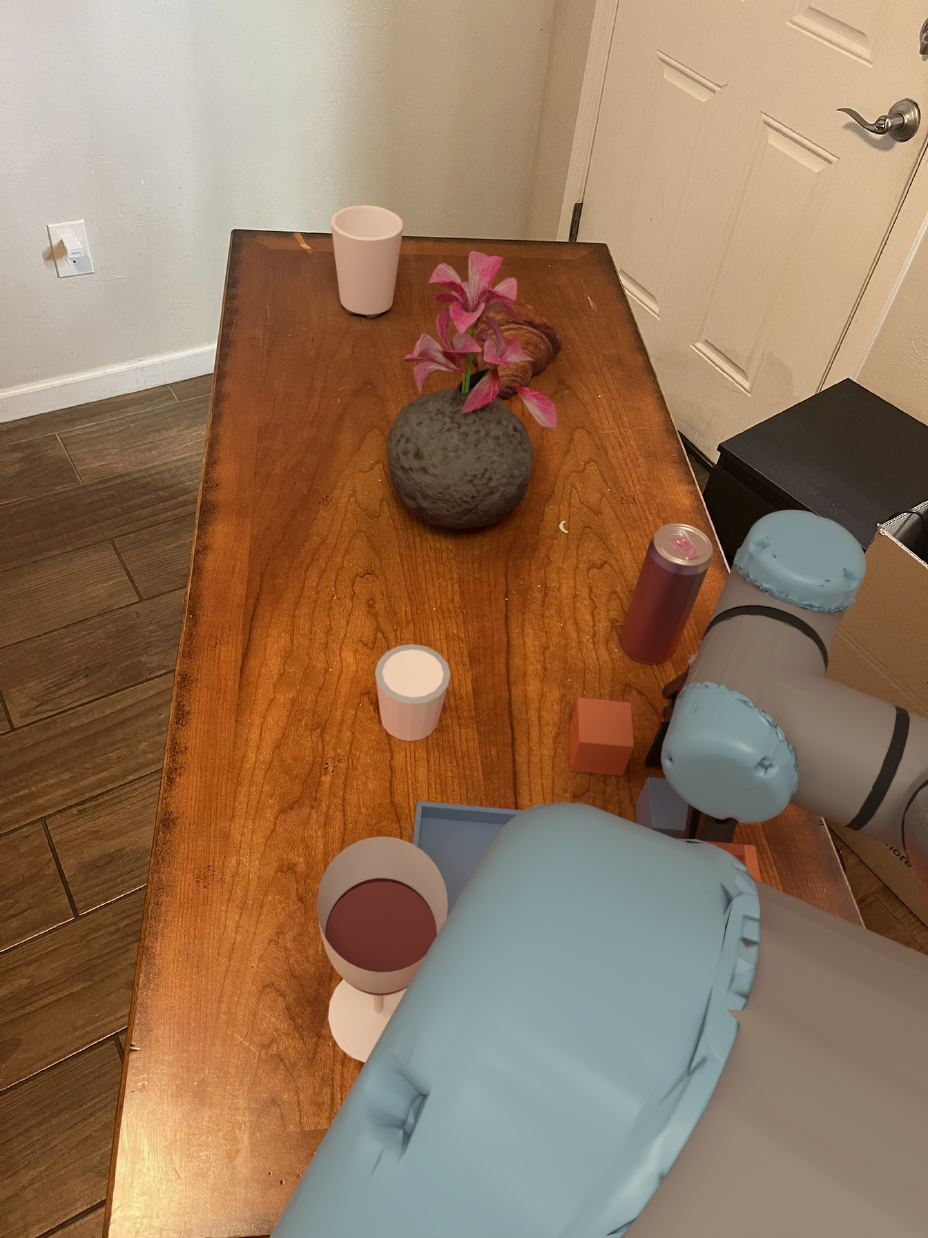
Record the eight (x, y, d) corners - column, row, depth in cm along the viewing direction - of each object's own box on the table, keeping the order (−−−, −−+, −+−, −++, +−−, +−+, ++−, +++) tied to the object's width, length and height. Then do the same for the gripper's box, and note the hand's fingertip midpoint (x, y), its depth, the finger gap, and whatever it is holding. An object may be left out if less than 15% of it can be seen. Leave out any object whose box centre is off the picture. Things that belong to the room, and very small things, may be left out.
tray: (537, 946, 77) (542, 933, 75) (403, 934, 77) (405, 921, 75) (538, 825, 84) (542, 811, 82) (415, 814, 84) (417, 800, 82)
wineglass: (329, 1079, 69) (321, 980, 54) (322, 962, 75) (313, 843, 60) (436, 1064, 70) (457, 963, 55) (421, 950, 76) (437, 830, 61)
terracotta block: (622, 776, 88) (634, 747, 85) (569, 771, 88) (579, 742, 84) (619, 732, 92) (630, 702, 88) (568, 727, 92) (577, 697, 88)
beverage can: (636, 673, 97) (673, 572, 85) (608, 631, 100) (639, 529, 89) (685, 658, 99) (727, 557, 87) (655, 617, 102) (692, 515, 91)
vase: (369, 469, 114) (372, 230, 91) (504, 449, 119) (538, 218, 96) (407, 566, 104) (420, 325, 81) (553, 541, 108) (604, 306, 86)
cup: (414, 309, 138) (418, 225, 129) (364, 332, 133) (365, 246, 124) (368, 280, 142) (369, 197, 133) (318, 302, 137) (315, 217, 128)
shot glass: (429, 756, 88) (433, 713, 83) (362, 731, 89) (362, 687, 84) (455, 702, 92) (461, 657, 87) (391, 679, 94) (393, 633, 88)
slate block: (694, 860, 83) (710, 833, 80) (638, 855, 83) (652, 827, 79) (689, 810, 87) (703, 782, 83) (635, 805, 86) (647, 776, 83)
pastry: (428, 340, 133) (432, 288, 127) (513, 312, 140) (520, 262, 134) (501, 403, 125) (508, 351, 119) (587, 370, 132) (598, 319, 126)
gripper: (670, 563, 77) (617, 712, 93) (704, 841, 61) (633, 963, 77) (760, 572, 77) (692, 719, 93) (819, 851, 61) (724, 971, 77)
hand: (665, 830), depth 85 cm, fingers open, 13 cm apart
